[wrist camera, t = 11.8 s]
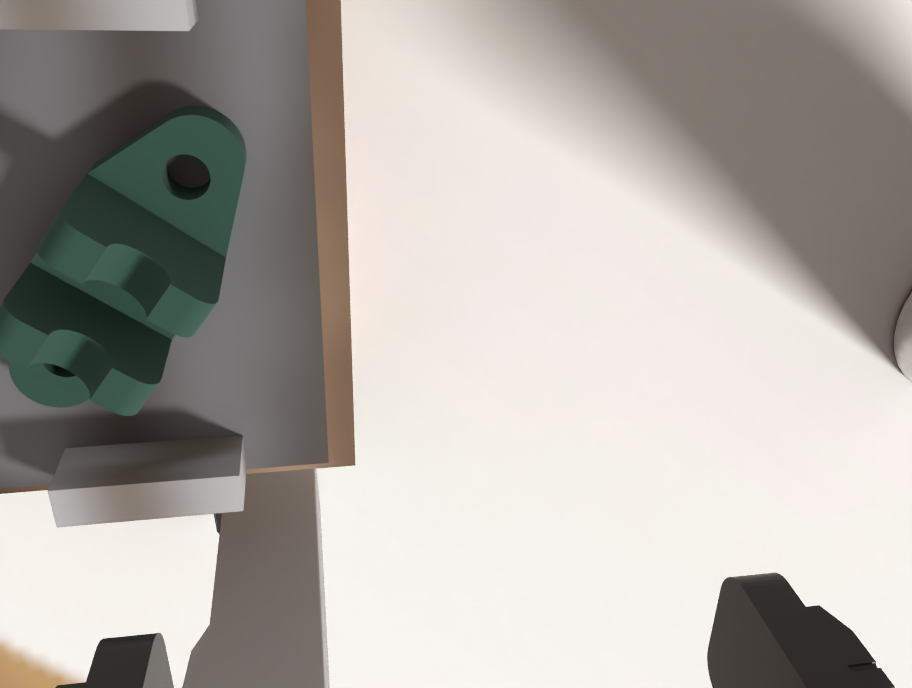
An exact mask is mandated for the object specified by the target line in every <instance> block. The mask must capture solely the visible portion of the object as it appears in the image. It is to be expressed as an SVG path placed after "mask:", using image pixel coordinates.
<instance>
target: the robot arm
mask: <svg viewBox="0 0 912 688" xmlns="http://www.w3.org/2000/svg"><path fill="white" fill-rule="evenodd" d="M894 353H895V356H896V360H897V363H898V366H899V368H900V369H901V371H902V372H903V374H904V375H905V377H907V378H908V379H909V380H910V381H911V382H912V292H911V294H910V296H909V297H908V299H907V300H906V302H905V304H904V306H903V309H902V311H901V313H900V316H899V318H898V321H897V325H896V330H895V335H894ZM707 660H708V670H709V676H710V680H711V683H712V687H713V688H895V687H894V685H893V684H892V683H891V681H890V680H889V679H888V677H887V676H886V675H885V673H884V672H883V671H882V669H881V668H877V666H876V661H875V660H874V659H873V657H872V656H871V655H870V653H869V652H868V651H867V649H866V648H865V647H864V645H863V644H862V643H861V642H860V640H859V639H858V638H857V636H856V635H855V634H854V632H853V631H852V630H851V629H849V628H848V627H847V626H845V625H844V624H843V623H841V622H840V621H839V620H838V619H836V618H835V617H834V616H832V615H831V614H830V613H828V612H827V611H826V610H824V609H823V608H822V607H820V606H810V607H805V605H804V604H803V603H802V601H801V600H800V598H799V597H798V596H797V594H796V593H795V591H794V590H793V589H792V587H791V586H790V584H789V583H788V582H787V580H786V579H785V578H784V577H783V576H782V575H780V574H778V573H768V574H758V575H748V576H738V577H729V578H726V579H725V580H724V581H723V584H722V586H721V590H720V595H719V600H718V604H717V609H716V614H715V618H714V623H713V628H712V633H711V637H710V642H709V647H708V655H707ZM56 688H174V686H173V681H172V677H171V672H170V667H169V662H168V657H167V652H166V647H165V643H164V639H163V636H162V635H161V634H160V633H156V634H146V635H136V636H126V637H116V638H106V639H102V640H101V641H100V642H99V644H98V646H97V649H96V652H95V655H94V658H93V661H92V665H91V668H90V671H89V675H88V678H87V681H86V683H76V684H67V685H58V686H57V687H56Z"/></svg>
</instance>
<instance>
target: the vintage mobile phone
mask: <svg viewBox="0 0 912 688" xmlns="http://www.w3.org/2000/svg"><path fill="white" fill-rule="evenodd" d="M214 518H215V523H216V529H217V532H218V533H219V534H220V536H219V546H218V555H217V564H216V573H215V582H214V591H213V600H212V609H211V618H210V625H209V626H208V628H207V629H206V631H205V632H204V634H203V635H202V637H201V638H200V640H199V641H198V642H197V644H196V645H195V647H194V648H193V650H192V651H191V655H190V659H189V663H188V667H187V671H186V675H185V679H184V683H183V687H182V688H330V687H329V668H328V649H327V630H326V611H325V592H324V573H323V554H322V535H321V516H320V502H319V492H318V483H317V473H316V468H315V469H302V470H290V471H277V472H265V473H252V474H246V483H245V496H244V509H243V511H238V512H227V513H215V514H214Z"/></svg>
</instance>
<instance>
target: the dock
mask: <svg viewBox="0 0 912 688" xmlns="http://www.w3.org/2000/svg"><path fill="white" fill-rule="evenodd" d="M188 106H202V107H207V108H211V109H214V110H216V111H218V112H220V113H222V114H223V115H225V116H226V117H228V118H229V119H230V120H231V121H232V122H233V123H234V124H235V125H236V127H237V128H238V129H239V131H240V133H241V135H242V137H243V139H244V142H245V146H246V164H245V170H244V176H243V181H242V185H241V190H240V195H239V199H238V204H237V209H236V213H235V218H234V223H233V228H232V232H231V237H230V242H229V246H228V251H227V256H226V261H225V267H224V272H223V278H222V284H221V289H220V295H219V300H218V302H217V304H216V305H215V306H214V308H213V309H212V311H211V312H210V313H209V315H208V316H207V318H206V319H205V320H204V322H203V323H202V324H201V326H200V327H199V329H198V330H197V331H196V333H195V334H194V335H193V336H192V337H181V336H177V335H175V336H174V338H173V339H172V342H171V345H170V349H169V353H168V357H167V360H166V364H165V368H164V372H163V375H162V379H161V381H160V383H159V384H158V385H157V387H156V388H155V389H154V391H153V392H152V394H151V395H150V396H149V398H148V399H147V400H146V402H145V403H144V405H143V406H142V407H141V409H140V410H139V412H138V413H137V414H135V415H132V416H124V415H120V414H117V413H114V412H112V411H110V410H108V409H106V408H104V407H102V406H100V405H98V404H96V403H94V402H92V401H90V399H88V400H87V401H85V402H83V403H81V404H78V405H75V406H71V407H62V408H59V407H50V406H45V405H42V404H39V403H37V402H34V401H32V400H31V399H29V398H28V397H26V396H25V395H24V394H22V393H21V392H20V391H19V390H18V388H17V387H16V386H15V384H14V383H13V381H12V379H11V376H10V373H9V361H7V360H5V359H3V358H1V357H0V494H2V493H15V492H27V491H40V490H48V494H49V498H50V502H51V506H52V510H53V514H54V518H55V522H56V526H57V527H66V526H78V525H89V524H101V523H112V522H124V521H135V520H147V519H158V518H169V517H181V516H192V515H204V514H215V513H227V512H238V511H243V509H244V496H245V483H246V474H252V473H265V472H277V471H290V470H302V469H315V468H327V467H340V466H352V465H355V445H354V413H353V381H352V350H351V318H350V286H349V255H348V223H347V191H346V160H345V128H344V96H343V64H342V33H341V1H340V0H0V305H1V303H2V302H3V300H4V298H5V297H6V296H7V294H8V293H9V291H10V290H11V289H12V287H13V286H14V284H15V283H16V282H17V280H18V279H19V278H20V276H21V275H22V273H23V272H24V271H25V269H26V268H27V267H28V265H29V264H30V262H31V261H32V259H33V258H34V256H35V254H36V253H37V246H38V244H39V243H40V241H41V240H42V238H43V236H44V235H45V233H46V232H47V230H48V229H49V227H50V225H51V224H52V222H53V221H54V219H55V217H56V216H57V214H58V213H59V211H60V209H61V208H62V207H63V205H64V204H65V203H66V201H67V200H68V199H69V197H70V196H71V195H72V193H73V192H74V191H75V189H76V188H77V187H78V185H79V184H80V183H81V181H82V180H83V179H84V177H85V176H86V175H87V174H88V172H89V171H90V170H91V168H92V167H93V166H94V164H95V163H96V162H97V161H99V160H100V159H102V158H103V157H105V156H106V155H108V154H109V153H111V152H112V151H114V150H115V149H117V148H118V147H120V146H121V145H123V144H124V143H126V142H127V141H129V140H130V139H132V138H134V137H135V136H137V135H138V134H140V133H141V132H143V131H144V130H146V129H147V128H149V127H150V126H152V125H153V124H155V123H156V122H158V121H159V120H161V119H162V118H164V117H165V116H167V115H169V114H170V113H172V112H173V111H175V110H178V109H180V108H183V107H188ZM167 168H168V171H169V173H170V175H171V177H172V178H173V179H174V180H175V181H176V182H177V183H179V184H180V185H182V186H185V187H189V188H196V187H200V186H203V185H205V184H206V183H207V182H208V181H209V180H210V179H211V178H210V173H209V170H208V168H207V166H206V165H205V164H204V163H203V162H202V161H201V160H200V159H198V158H197V157H194V156H192V155H187V154H181V155H176V156H174V157H172V158H170V159H169V160H168V161H167Z"/></svg>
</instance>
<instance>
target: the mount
mask: <svg viewBox="0 0 912 688" xmlns="http://www.w3.org/2000/svg"><path fill="white" fill-rule="evenodd" d="M181 154H187V155H192V156H194V157H197V158H198V159H200V160H201V161H202V162H203V163H204V164H205V165H206V166H207V168H208V170H209V173H210V178H211V179H210V180H209V181H208V182H207V183H206V184H205V185H203V186H200V187H196V188H189V187H185V186H182V185H180V184H179V183H177V182H176V181H175V180H174V179H173V178H172V177H171V175H170V173H169V171H168V168H167V161H168V160H169V159H170V158H172V157H174V156H176V155H181ZM245 164H246V146H245V142H244V139H243V137H242V135H241V133H240V131H239V129H238V128H237V127H236V125H235V124H234V123H233V122H232V121H231V120H230V119H229V118H228V117H226V116H225V115H223V114H222V113H220V112H218V111H216V110H214V109H211V108H207V107H202V106H188V107H183V108H180V109H178V110H175V111H173V112H172V113H170V114H169V115H167V116H165V117H164V118H162V119H161V120H159V121H158V122H156V123H155V124H153V125H152V126H150V127H149V128H147V129H146V130H144V131H143V132H141V133H140V134H138V135H137V136H135V137H134V138H132V139H130V140H129V141H127V142H126V143H124V144H123V145H121V146H120V147H118V148H117V149H115V150H114V151H112V152H111V153H109V154H108V155H106V156H105V157H103V158H102V159H100V160H99V161H97V162H96V163H95V164H94V166H93V167H92V168H91V170H90V171H89V172H88V174H87V175H86V176H85V177H84V179H83V180H82V181H81V183H80V184H79V185H78V187H77V188H76V189H75V191H74V192H73V193H72V195H71V196H70V197H69V199H68V200H67V201H66V203H65V204H64V205H63V207H62V208H61V209H60V211H59V213H58V214H57V216H56V217H55V219H54V221H53V222H52V224H51V225H50V227H49V229H48V230H47V232H46V233H45V235H44V236H43V238H42V240H41V241H40V243H39V244H38V246H37V253H36V254H35V256H34V258H33V259H32V261H31V262H30V264H29V265H28V267H27V268H26V269H25V271H24V272H23V273H22V275H21V276H20V278H19V279H18V280H17V282H16V283H15V284H14V286H13V287H12V289H11V290H10V291H9V293H8V294H7V296H6V297H5V298H4V300H3V302H2V303H1V305H0V357H1V358H3V359H5V360H7V361H9V373H10V376H11V379H12V381H13V383H14V384H15V386H16V387H17V388H18V390H19V391H20V392H21V393H22V394H24V395H25V396H26V397H28V398H29V399H31V400H32V401H34V402H37V403H39V404H42V405H45V406H50V407H59V408H62V407H71V406H75V405H78V404H81V403H83V402H85V401H87V400H88V399H90V401H92V402H94V403H96V404H98V405H100V406H102V407H104V408H106V409H108V410H110V411H112V412H114V413H117V414H120V415H124V416H132V415H135V414H137V413H138V412H139V410H140V409H141V407H142V406H143V405H144V403H145V402H146V400H147V399H148V398H149V396H150V395H151V394H152V392H153V391H154V389H155V388H156V387H157V385H158V384H159V383H160V381H161V379H162V375H163V372H164V368H165V364H166V360H167V357H168V353H169V349H170V345H171V342H172V339H173V338H174V336H175V335H177V336H181V337H192V336H193V335H194V334H195V333H196V331H197V330H198V329H199V327H200V326H201V324H202V323H203V322H204V320H205V319H206V318H207V316H208V315H209V313H210V312H211V311H212V309H213V308H214V306H215V305H216V304H217V302H218V300H219V295H220V289H221V284H222V278H223V272H224V267H225V261H226V256H227V251H228V246H229V242H230V237H231V232H232V228H233V223H234V218H235V213H236V209H237V204H238V199H239V195H240V190H241V185H242V181H243V176H244V170H245Z"/></svg>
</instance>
